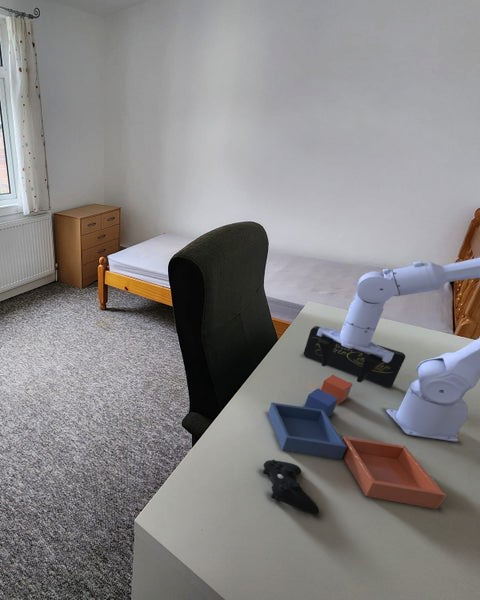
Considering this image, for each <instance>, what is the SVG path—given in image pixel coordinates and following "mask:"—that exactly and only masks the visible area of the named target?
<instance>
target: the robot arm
mask: <svg viewBox="0 0 480 600" xmlns="http://www.w3.org/2000/svg"><path fill="white" fill-rule="evenodd" d="M412 264H413V265H409V266H404V267H399V268H394V269H390V268H384V269H382V271H378V270H377V271H369V272H367V273H364V274H363V275H361V276H360V277H359V279H358V280H357V283H356V286H357V287H356V293H355V294H354V296H353V300H352V301H351V303H350V305H349V309H348V310H347V314H346V316H345V319H344V322H343V325H342V328H341V329H340V330H341V331H339V330H335V329H332V328H328V327H325V326H322V327H321V326H320V327H321V328H319V330H318V333H317V335H318V336H320V337H321V339H319V341H318V343H319V346H320V349H321V353H322V363H321V366H322V367H326V366H329V365H328V364H329V362H330V359H331V355H332V352H333V350H334V348H335V345H336V343H337V342H339V343H341V345H342V346H344V347H347V348H349V349H352V348H354V349H357V350H359V351H362V352H364V353H367V354H369V356H368V357H366V358H365V359H364V363H363V367H362V370H361V372H360V374H359V376H357V379H356V382H357V383H363V381H364V380H366V379H365V377H366V376H367V374H368V373H369V372H370V371H371V370H372V369H373V368H374V367H376V366H377V365H378V364H380V363H381V362H382V361H384V362H387V363H388V362H390V361H391V359H392V357H393V355H394V353H393V352H390V351H388V350H386V349H384V348H382V347H380V346H381V345H379V344H376V343H374V342H372V339H373V337H374V334H375V332H376V330H377V327H378V324H379V322H380V319H381V317H382V314H383V312H384V306H385V304H386V302H387V301H389V300H390V299H391V298H392V297H400V296H401V297H402V296H408V295H413V294H420V293H427V292H431V291H439V290H440V289H441V288H442V287H443V286H444V285H445V284H447V283H450V282H457V281H464V280H473V279H480V256H479V257H475V258H471V259H467V260H462V261H457V262H453V263H449V264H445V265H440V264H436V263H434V262H431V261H429V262H423V260H419V261H413V263H412ZM378 345H379V346H378ZM416 374H417V376H418V378H417V379H416V380H414V381H413V382H411V383H410V385H409V387H408V389H407V391H406V393H405V395H404V398H403V399H402V402H401V403H400V406H399V408H398V409H390V408H387V409H386V412H387V414H388V415H389V416H390V417H391V418H392V419H393V421H394V422H395V423H396V424H397V426H399V427H400V429H401V430H402V431H403V432H404V433H405V434H406V435H408V436H413V437H414V436H415V437H421V438H427V439H435V440H441V441H447V442H448V441H449V442H453V443H454V442H455V443H457V442H459V439H458V438H457V435H458V433H459V432H460V430H461V428H462V427H463V425H464V424H465V421H466V420H467V418H468V416H469V407H468V404H467V403H466V401H465V400H464V397H465V395H466V393H467V392H468V391H470V390H472V389H474V388H475V387H476V385H477V384H478V383H479V381H480V337H479V338H477V339H475V340H474V341H472V342H470V343H469V344H466V345H465V346H464V347H462V348H460V349H459V350H457V351H454V352H453V351H452V352H444V353H443V354H441V355H439V356H436V357H431V358H427V359H424V360H422V361H420V362H419V363H418V364H417V366H416Z"/></svg>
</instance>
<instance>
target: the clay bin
mask: <svg viewBox="0 0 480 600" xmlns="http://www.w3.org/2000/svg"><path fill="white" fill-rule="evenodd" d="M341 439H342V440H343V442H344V444H345V445H346V450H345V452H344V454H343V456H342V459H343V460H344V462H345V463H346V465H347V466H348V468H349V470H350V472H351V473H352V476H353V477H354V478H355V480H356V481H357V484H358V485H359V487H360V488H361V490H362V492H363V494H364V495H365V497H367V498H368V497H369V498H373V499H380V500H385V501H391V502H396V503H401V504H406V505H407V504H408V505H412V506H418V507H423V508H429V509H434V510H438V509H439V507H440V506H441V504H442V502H443V501H444V499H445V498H446V496H447V495H446V494H445V493H444V492H443V490H442V489H441V488H440V486H439V485H438V484H437V483H436V482H435V480H434V479H433V478H432V477H431V476H430V474H429V473H428V472H427V471H426V469H425V468H424V467H423V466H422V465H421V463H420V462H419V461H418V460H417V459H416V457H415V456H414V455H413V454H412V452H411V451H410V450H409V448H407V446H406V445H401V444H394V443H393V444H392V443H388V442H380V441H375V440H367V439H361V438H355V437H348V436H343V437H342V438H341Z"/></svg>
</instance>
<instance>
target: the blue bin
mask: <svg viewBox="0 0 480 600" xmlns="http://www.w3.org/2000/svg"><path fill="white" fill-rule="evenodd" d="M267 416H268V418H269V420H270V423H271V425H272V427H273V430H274V432H275V435H276V437H277V440H278V444H279V445H280V447H281V448H280V449H281V450H282V451H285V452H291V453H292V452H293V453H299V454H304V455H310V456H316V457H322V458H329V459H336V460H342V459H343V454H344V452H345V450H346V445H345V444H344V442H343V440H342V439H343V438H342V437H341V436H340V434H339V432H338V430H337V429H336V428H335V426H334V424H333V423H332V421H331V419H330V418H329V417H328V416H327V415H326V413H325V412H324V410H322V409H315V408H307V407H304V406H300V405H293V404H286V403H279V402H278V403H277V402H271V403H270V406H269V410H268V412H267Z"/></svg>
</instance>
